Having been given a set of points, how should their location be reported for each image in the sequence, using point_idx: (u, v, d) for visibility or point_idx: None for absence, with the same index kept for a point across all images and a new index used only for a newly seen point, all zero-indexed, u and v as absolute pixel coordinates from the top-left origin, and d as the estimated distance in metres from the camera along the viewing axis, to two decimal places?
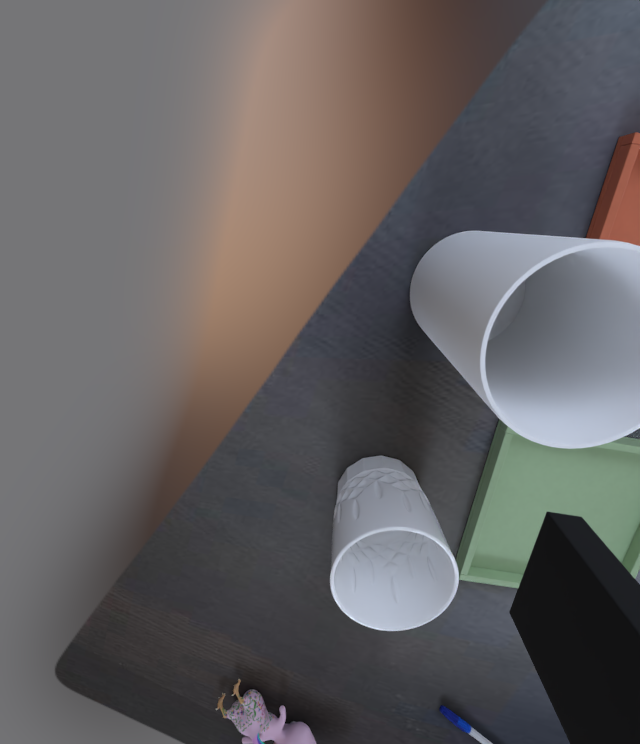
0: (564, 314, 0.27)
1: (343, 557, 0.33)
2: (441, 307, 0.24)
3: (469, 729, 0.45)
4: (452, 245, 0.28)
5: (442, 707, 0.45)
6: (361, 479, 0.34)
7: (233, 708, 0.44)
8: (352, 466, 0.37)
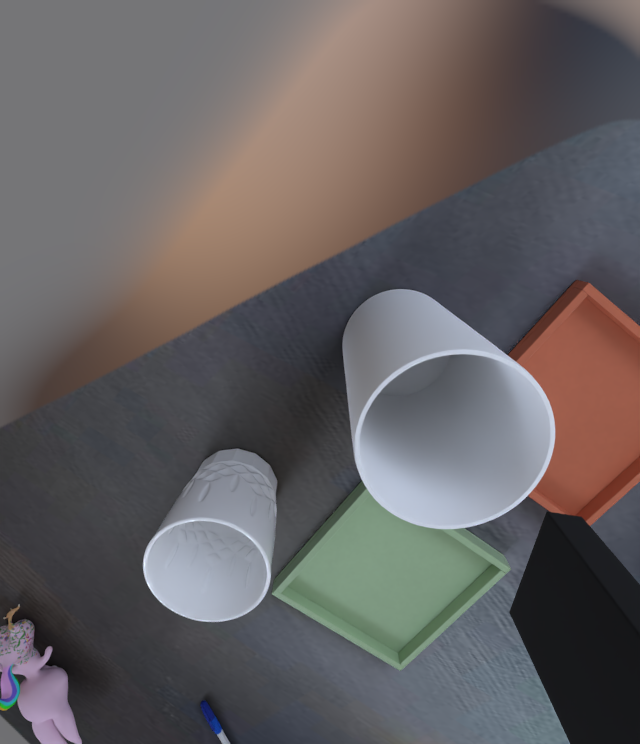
0: (462, 403, 0.29)
1: (173, 531, 0.33)
2: (361, 347, 0.25)
3: (219, 731, 0.46)
4: (401, 298, 0.29)
5: (204, 702, 0.45)
6: (225, 467, 0.34)
7: None
8: (224, 451, 0.37)
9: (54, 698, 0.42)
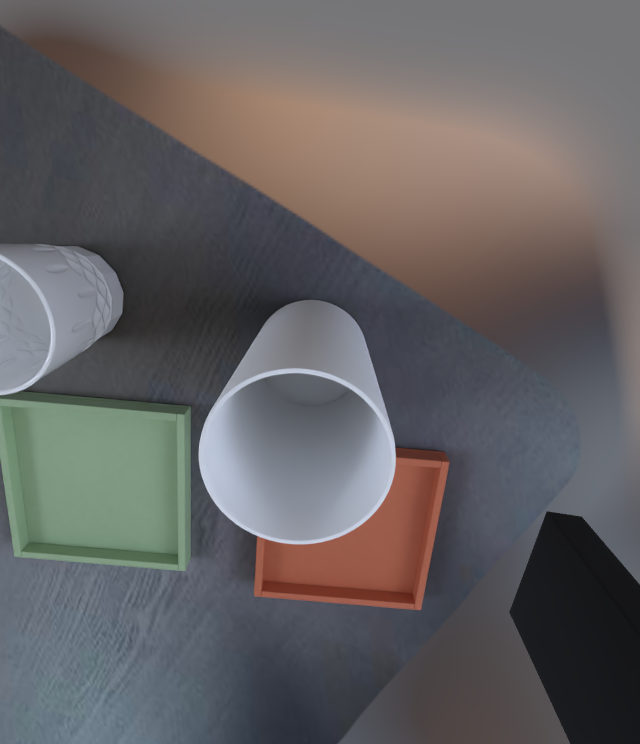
0: (306, 440, 0.30)
1: None
2: (308, 329, 0.24)
3: None
4: (357, 332, 0.30)
5: None
6: (92, 272, 0.29)
7: None
8: (102, 261, 0.32)
9: None
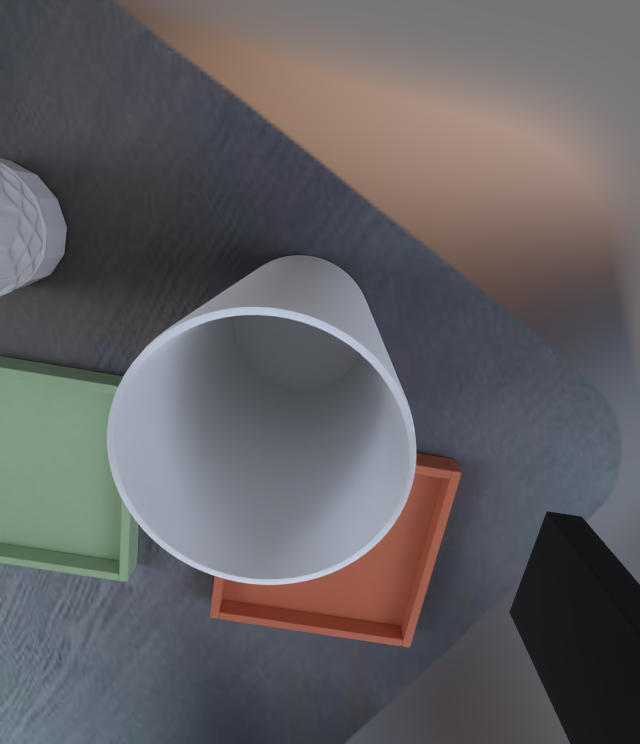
0: (284, 431, 0.23)
1: None
2: (296, 274, 0.17)
3: None
4: (362, 297, 0.23)
5: None
6: (18, 189, 0.22)
7: None
8: (40, 182, 0.25)
9: None
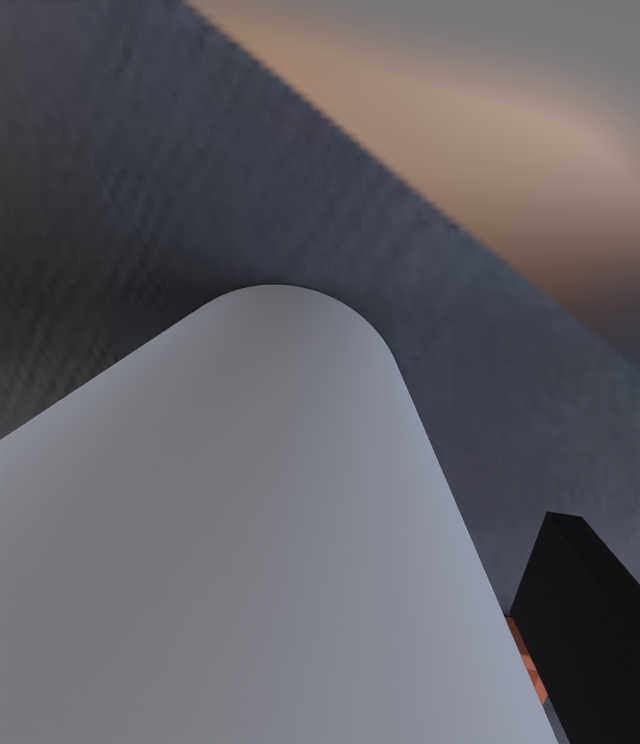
0: None
1: None
2: (218, 403, 0.05)
3: None
4: (401, 383, 0.11)
5: None
6: None
7: None
8: None
9: None
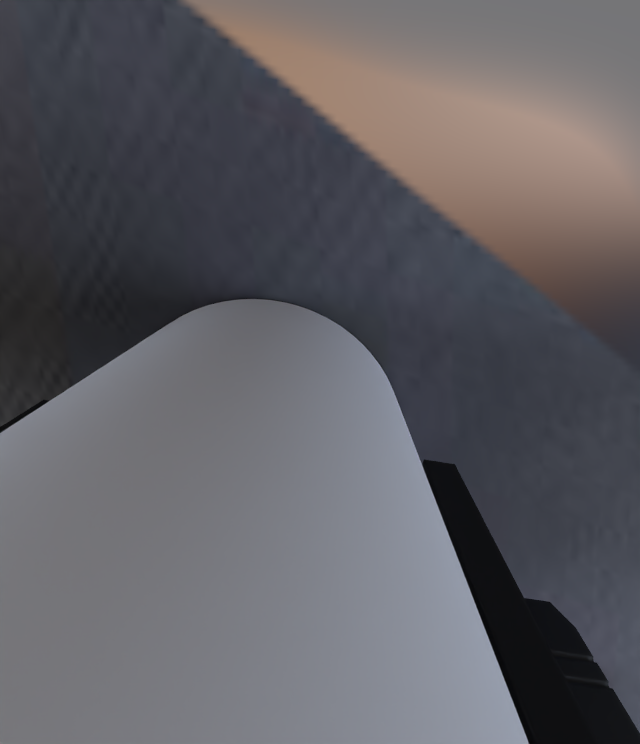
0: None
1: None
2: (119, 519, 0.03)
3: None
4: (398, 422, 0.09)
5: None
6: None
7: None
8: None
9: None
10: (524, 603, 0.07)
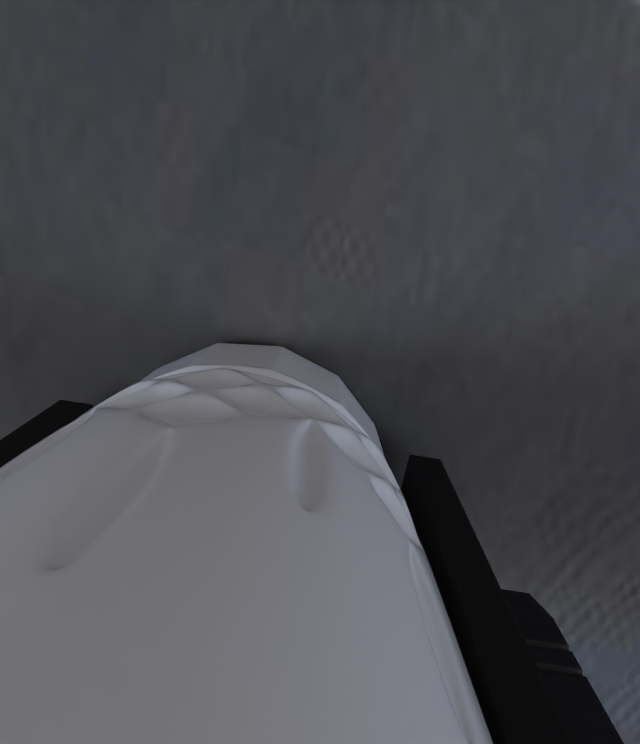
0: None
1: None
2: None
3: None
4: None
5: None
6: (395, 484, 0.08)
7: None
8: (352, 396, 0.11)
9: None
10: (500, 593, 0.07)
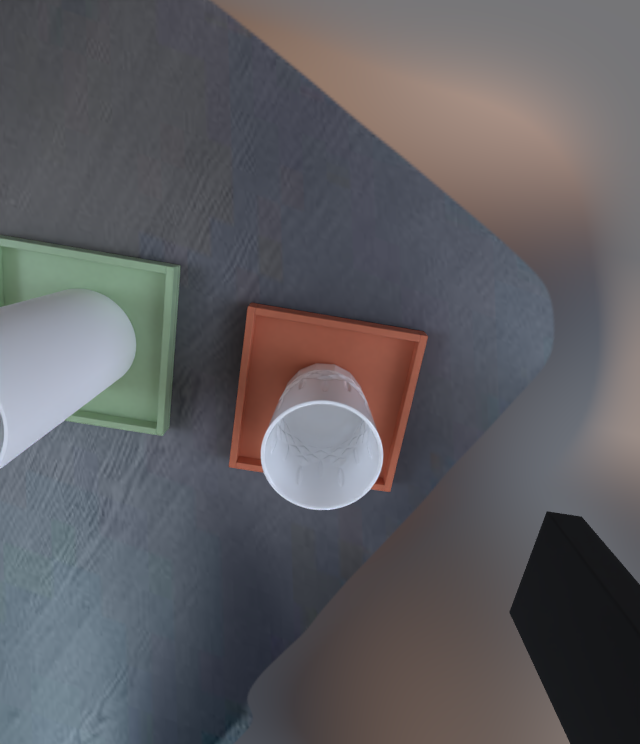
0: None
1: None
2: (6, 310, 0.28)
3: None
4: (99, 320, 0.33)
5: None
6: (364, 397, 0.35)
7: None
8: (354, 378, 0.38)
9: None
10: None
